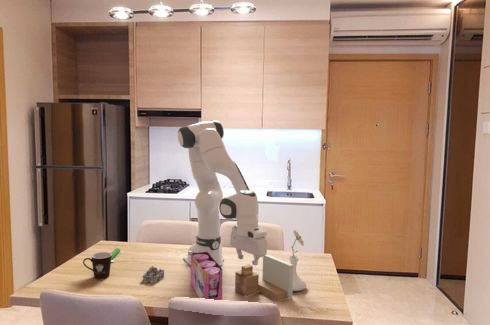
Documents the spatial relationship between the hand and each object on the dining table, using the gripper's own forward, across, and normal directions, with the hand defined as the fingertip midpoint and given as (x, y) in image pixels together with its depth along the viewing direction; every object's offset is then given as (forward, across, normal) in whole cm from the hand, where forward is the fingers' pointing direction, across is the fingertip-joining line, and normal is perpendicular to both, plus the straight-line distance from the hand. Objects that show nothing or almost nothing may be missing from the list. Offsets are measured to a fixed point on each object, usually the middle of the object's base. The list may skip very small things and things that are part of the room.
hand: (247, 261), depth 156 cm
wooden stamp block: (+13, -1, 0) cm, 13 cm away
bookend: (+13, +7, +7) cm, 17 cm away
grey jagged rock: (+12, -36, -26) cm, 46 cm away
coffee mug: (+11, -52, -45) cm, 70 cm away
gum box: (+13, -10, -15) cm, 22 cm away
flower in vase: (+14, +8, +19) cm, 25 cm away
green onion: (+11, -67, -35) cm, 77 cm away
